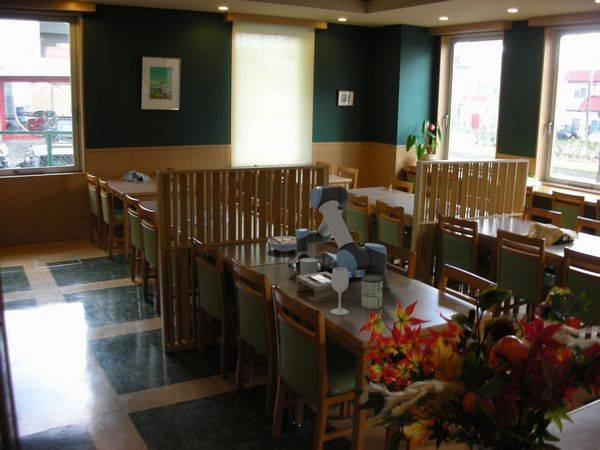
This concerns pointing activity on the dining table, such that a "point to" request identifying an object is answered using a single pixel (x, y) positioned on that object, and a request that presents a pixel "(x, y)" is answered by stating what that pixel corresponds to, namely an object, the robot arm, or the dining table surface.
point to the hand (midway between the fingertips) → (307, 268)
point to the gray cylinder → (308, 266)
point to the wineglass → (339, 287)
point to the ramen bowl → (282, 243)
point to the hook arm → (319, 279)
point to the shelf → (319, 287)
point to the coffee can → (371, 291)
